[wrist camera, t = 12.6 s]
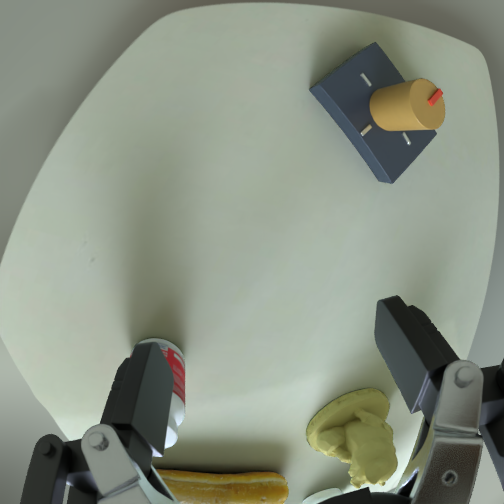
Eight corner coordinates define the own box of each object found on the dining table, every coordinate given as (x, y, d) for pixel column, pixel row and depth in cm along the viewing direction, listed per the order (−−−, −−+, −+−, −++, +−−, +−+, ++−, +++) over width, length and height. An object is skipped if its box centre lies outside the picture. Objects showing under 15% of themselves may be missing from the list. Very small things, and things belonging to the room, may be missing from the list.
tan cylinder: (387, 140, 24) (432, 140, 19) (361, 104, 23) (403, 94, 17) (410, 115, 24) (454, 111, 18) (385, 80, 23) (428, 69, 17)
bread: (273, 490, 45) (282, 519, 37) (142, 490, 39) (142, 522, 31) (290, 460, 41) (303, 494, 34) (135, 459, 35) (132, 498, 28)
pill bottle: (171, 329, 29) (166, 407, 19) (193, 370, 31) (198, 447, 21) (121, 343, 28) (100, 419, 18) (146, 383, 31) (137, 457, 20)
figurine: (286, 436, 38) (317, 514, 24) (357, 375, 37) (412, 451, 23) (338, 450, 43) (369, 510, 29) (397, 400, 42) (442, 457, 28)
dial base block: (308, 89, 24) (319, 83, 22) (363, 48, 23) (376, 41, 21) (378, 181, 28) (393, 184, 26) (422, 134, 28) (438, 134, 25)
